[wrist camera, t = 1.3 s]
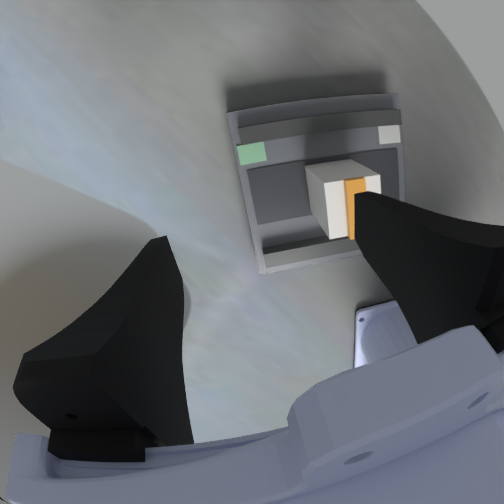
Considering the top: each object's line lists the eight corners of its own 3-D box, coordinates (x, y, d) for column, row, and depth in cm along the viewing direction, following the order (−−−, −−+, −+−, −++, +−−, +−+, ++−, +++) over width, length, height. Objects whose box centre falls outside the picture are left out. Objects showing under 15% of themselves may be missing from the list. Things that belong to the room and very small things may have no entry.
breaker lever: (354, 204, 20) (385, 232, 15) (310, 211, 20) (331, 243, 15) (350, 158, 18) (383, 175, 14) (304, 165, 18) (326, 184, 14)
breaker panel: (393, 234, 23) (410, 251, 21) (257, 261, 24) (261, 282, 21) (384, 93, 18) (404, 93, 16) (227, 112, 19) (225, 113, 16)
